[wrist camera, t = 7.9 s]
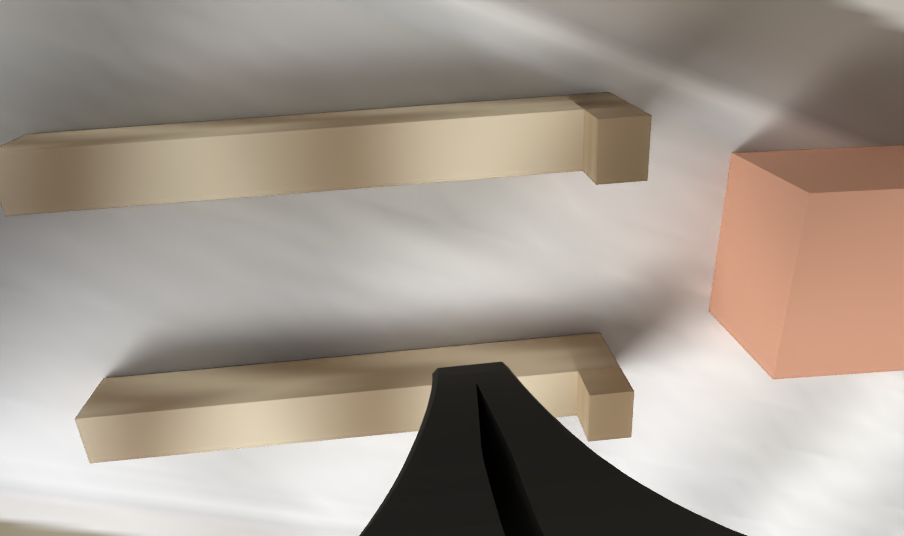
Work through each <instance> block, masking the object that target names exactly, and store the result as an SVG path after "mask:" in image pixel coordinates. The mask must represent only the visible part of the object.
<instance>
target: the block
mask: <svg viewBox="0 0 904 536" xmlns="http://www.w3.org/2000/svg"><path fill="white" fill-rule="evenodd" d="M709 312H710V313H711V314H712V315H713V317H714V318H715V319H716V320H717V321H718V322H719V323H720V324H721V325H722V326H723V327H724V328H725V329H726V330H727V331H728V332H729V333H730V334H731V336H732V337H733V338H734V339H735V340H736V341H737V342H738V343H739V344H740V345H741V346H742V347H743V348H744V349H745V350H746V351H747V352H748V353H749V355H750V356H751V357H752V358H753V359H754V360H755V361H756V362H757V363H758V364H759V365H760V366H761V367H762V368H763V369H764V370H765V371H766V373H767V374H768V375H769V376H770V377H771V378H772V379H784V378H799V377H813V376H828V375H842V374H857V373H872V372H886V371H901V370H904V145H896V146H874V147H851V148H829V149H806V150H783V151H761V152H738V153H732V155H731V162H730V169H729V176H728V182H727V189H726V196H725V203H724V210H723V217H722V223H721V230H720V237H719V244H718V251H717V258H716V264H715V271H714V278H713V285H712V292H711V299H710V305H709Z"/></svg>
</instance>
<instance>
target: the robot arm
mask: <svg viewBox="0 0 904 536" xmlns="http://www.w3.org/2000/svg"><path fill="white" fill-rule="evenodd" d="M359 536H747V535H744V534H741V533H739V532H736V531H733V530H731V529H729V528H726V527H724V526H722V525H720V524H718V523H715V522H713V521H711V520H709V519H707V518H704V517H702V516H700V515H698V514H696V513H693V512H691V511H689V510H688V509H686V508H684V507H682V506H680V505H678V504H676V503H674V502H672V501H670V500H668V499H666V498H665V497H663V496H661V495H659V494H658V493H656V492H654V491H652V490H651V489H649V488H647V487H645V486H644V485H642V484H640V483H639V482H637V481H635V480H634V479H632V478H631V477H629V476H627V475H626V474H624V473H623V472H621V471H620V470H619V469H617V468H616V467H614V466H613V465H611V464H610V463H608V462H607V461H606V460H604V459H603V458H601V457H600V456H599V455H597V454H596V453H595V452H593V451H592V450H591V449H590V448H588V447H587V446H586V445H585V444H584V443H583V442H581V441H580V440H579V439H578V438H577V437H575V436H574V435H573V434H572V433H571V432H570V431H569V430H568V429H566V428H565V427H564V426H563V425H562V424H561V423H560V422H559V421H558V420H557V419H556V418H555V417H554V416H553V415H552V414H551V413H550V412H549V411H548V410H547V409H546V408H545V407H544V406H542V404H541V403H540V402H539V401H538V400H537V399H536V398H535V397H534V396H533V395H532V394H531V393H530V392H529V391H528V390H527V388H526V387H525V386H524V385H523V384H522V383H521V382H520V381H519V379H518V378H517V377H516V376H515V375H514V373H513V372H512V371H511V370H510V369H509V367H508V366H507V365H506V364H504V363H503V362H492V363H481V364H471V365H461V366H451V367H441V368H437V369H436V370H435V371H434V372H433V373H432V388H431V393H430V398H429V401H428V405H427V409H426V412H425V415H424V418H423V420H422V423H421V426H420V429H419V432H418V434H417V437H416V439H415V442H414V444H413V446H412V448H411V450H410V453H409V455H408V457H407V459H406V461H405V464H404V466H403V468H402V470H401V471H400V473H399V475H398V477H397V479H396V481H395V483H394V484H393V486H392V488H391V489H390V491H389V493H388V494H387V496H386V498H385V499H384V501H383V503H382V504H381V506H380V507H379V509H378V510H377V511H376V513H375V514H374V516H373V517H372V519H371V520H370V522H369V523H368V525H367V526H366V527H365V529H364V530H363V531H362V533H361V534H360V535H359Z"/></svg>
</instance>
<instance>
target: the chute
mask: <svg viewBox="0 0 904 536" xmlns="http://www.w3.org/2000/svg"><path fill="white" fill-rule="evenodd" d="M650 131H651V115H650V114H648V113H646V112H644V111H643V110H641V109H639V108H637V107H635V106H633V105H631V104H630V103H628V102H626V101H624V100H622V99H620V98H619V97H617V96H615V95H613V94H611V93H609V92H604V93H590V94H577V95H563V96H549V97H535V98H521V99H508V100H494V101H480V102H466V103H452V104H438V105H425V106H411V107H397V108H383V109H369V110H356V111H342V112H328V113H314V114H300V115H286V116H273V117H259V118H245V119H231V120H217V121H204V122H190V123H176V124H162V125H148V126H134V127H121V128H107V129H93V130H79V131H65V132H51V133H38V134H27V135H24V136H22V137H20V138H17V139H15V140H13V141H11V142H8V143H6V144H4V145H2V146H0V203H1V206H2V209H3V212H4V214H5V216H13V215H26V214H39V213H51V212H64V211H77V210H90V209H102V208H115V207H128V206H140V205H153V204H166V203H179V202H191V201H204V200H217V199H229V198H242V197H255V196H268V195H280V194H293V193H306V192H318V191H331V190H344V189H357V188H369V187H382V186H395V185H407V184H420V183H433V182H446V181H458V180H471V179H484V178H497V177H509V176H522V175H535V174H547V173H560V172H573V171H583V172H584V173H585V174H586V175H587V176H588V177H589V178H590V179H591V180H592V181H593V182H594V183H595V184H596V185H598V184H611V183H623V182H636V181H647V179H648V163H649V147H650ZM492 362H503V363H504V364H506V365H507V366H508V367H509V369H510V370H511V371H512V372H513V373H514V375H515V376H516V377H517V378H518V379H519V381H520V382H521V383H522V384H523V385H524V386H525V387H526V388H527V390H528V391H529V392H530V393H531V394H532V395H533V396H534V397H535V398H536V399H537V400H538V401H539V402H540V403H541V404H542V406H544V407H545V408H546V409H547V410H548V411H549V412H550V413H551V414H552V415H553V416H554V417H564V416H575V415H577V416H578V418H579V421H580V423H581V426H582V428H583V430H584V433H585V435H586V437H587V440H588V441H598V440H608V439H618V438H628V437H631V433H632V417H633V401H634V390H633V389H632V387H631V385H630V383H629V382H628V380H627V378H626V377H625V375H624V373H623V371H622V370H621V368H620V366H619V365H618V363H617V361H616V359H615V358H614V356H613V354H612V353H611V351H610V349H609V347H608V346H607V344H606V342H605V341H604V339H603V337H602V335H601V334H600V333H592V334H581V335H570V336H559V337H548V338H537V339H526V340H515V341H505V342H494V343H483V344H472V345H461V346H450V347H439V348H428V349H418V350H407V351H396V352H385V353H374V354H363V355H352V356H342V357H331V358H320V359H309V360H298V361H287V362H276V363H265V364H255V365H244V366H233V367H222V368H211V369H200V370H189V371H178V372H168V373H157V374H146V375H135V376H124V377H113V378H103V380H102V381H101V382H100V384H99V385H98V387H97V388H96V390H95V391H94V392H93V394H92V395H91V397H90V398H89V399H88V401H87V402H86V404H85V405H84V406H83V408H82V409H81V411H80V412H79V414H78V415H77V416H76V418H75V422H76V425H77V427H78V430H79V433H80V436H81V439H82V442H83V445H84V448H85V451H86V454H87V457H88V460H89V462H90V463H98V462H108V461H118V460H128V459H138V458H148V457H159V456H169V455H179V454H189V453H199V452H209V451H220V450H230V449H240V448H250V447H260V446H270V445H280V444H291V443H301V442H311V441H321V440H331V439H341V438H351V437H362V436H372V435H382V434H392V433H402V432H412V431H419V429H420V426H421V423H422V420H423V418H424V415H425V412H426V409H427V405H428V401H429V398H430V393H431V388H432V373H433V372H434V371H435V370H436V369H437V368H441V367H451V366H461V365H471V364H481V363H492Z"/></svg>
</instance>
